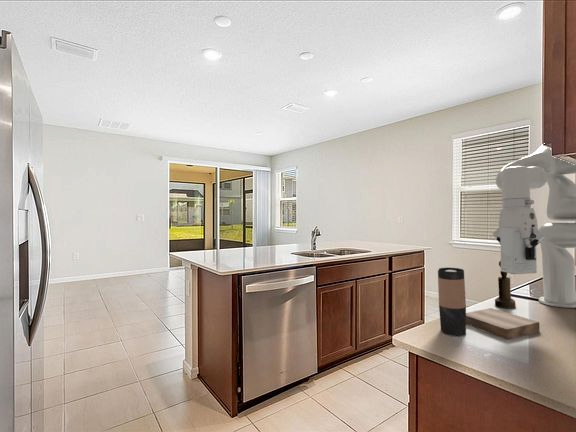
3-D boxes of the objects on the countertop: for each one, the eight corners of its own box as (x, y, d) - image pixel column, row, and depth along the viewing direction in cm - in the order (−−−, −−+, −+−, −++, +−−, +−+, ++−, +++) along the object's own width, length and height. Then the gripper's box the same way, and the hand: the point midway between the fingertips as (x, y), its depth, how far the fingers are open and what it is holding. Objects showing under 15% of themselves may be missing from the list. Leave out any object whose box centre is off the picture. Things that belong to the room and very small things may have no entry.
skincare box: (513, 274, 101) (512, 228, 101) (499, 271, 107) (498, 227, 107) (538, 273, 102) (537, 227, 101) (522, 270, 108) (522, 226, 107)
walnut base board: (491, 316, 113) (491, 308, 113) (539, 331, 98) (539, 322, 98) (461, 322, 108) (461, 313, 108) (507, 339, 93) (506, 329, 93)
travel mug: (472, 334, 98) (470, 270, 98) (451, 338, 96) (448, 272, 96) (454, 326, 105) (452, 266, 105) (434, 329, 104) (432, 268, 103)
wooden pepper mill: (509, 303, 126) (507, 258, 126) (519, 308, 120) (517, 261, 120) (491, 303, 127) (489, 259, 127) (501, 308, 121) (499, 261, 120)
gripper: (553, 202, 97) (555, 260, 97) (498, 205, 114) (500, 254, 114) (536, 203, 95) (538, 262, 95) (483, 205, 111) (485, 256, 111)
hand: (517, 257), depth 104 cm, fingers closed on skincare box, 6 cm apart
